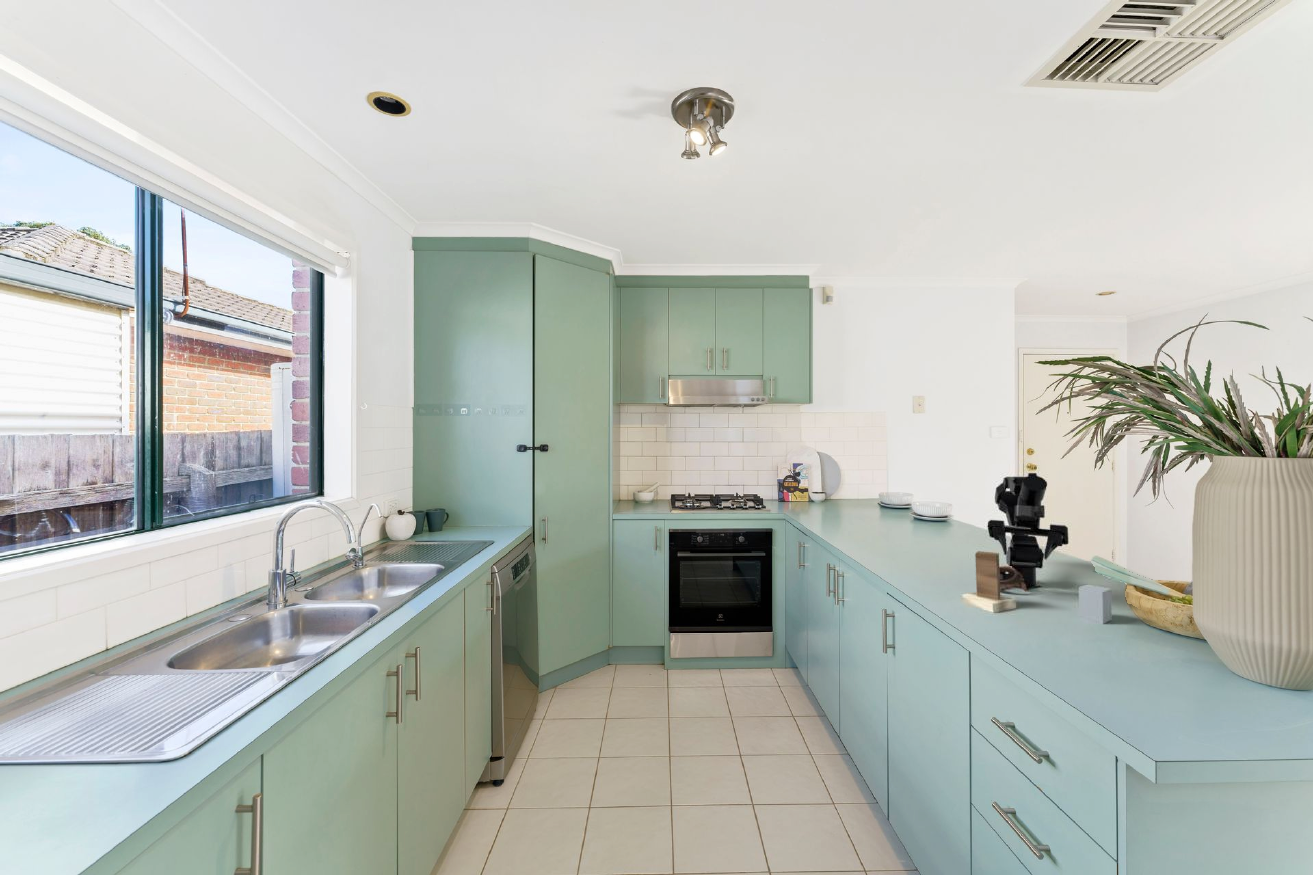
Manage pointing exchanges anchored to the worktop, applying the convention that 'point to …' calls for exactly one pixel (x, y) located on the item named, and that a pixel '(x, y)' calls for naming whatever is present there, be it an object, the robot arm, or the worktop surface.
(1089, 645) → the worktop surface
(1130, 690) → the worktop surface
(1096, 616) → the grey block
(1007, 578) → the pottery mug
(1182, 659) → the worktop surface
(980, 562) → the walnut block
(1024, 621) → the worktop surface
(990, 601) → the birch block
